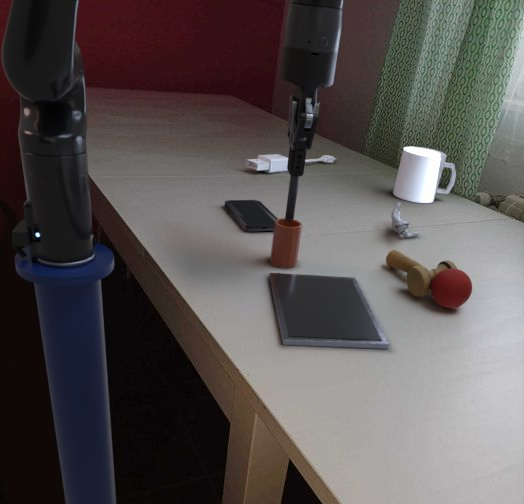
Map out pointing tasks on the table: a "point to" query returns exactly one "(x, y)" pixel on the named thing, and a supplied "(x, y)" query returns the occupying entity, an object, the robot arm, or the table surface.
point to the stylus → (292, 197)
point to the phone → (251, 215)
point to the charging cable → (278, 162)
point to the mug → (421, 174)
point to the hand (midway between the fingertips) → (294, 173)
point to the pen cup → (285, 243)
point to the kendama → (434, 280)
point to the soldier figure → (400, 223)
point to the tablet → (324, 312)
